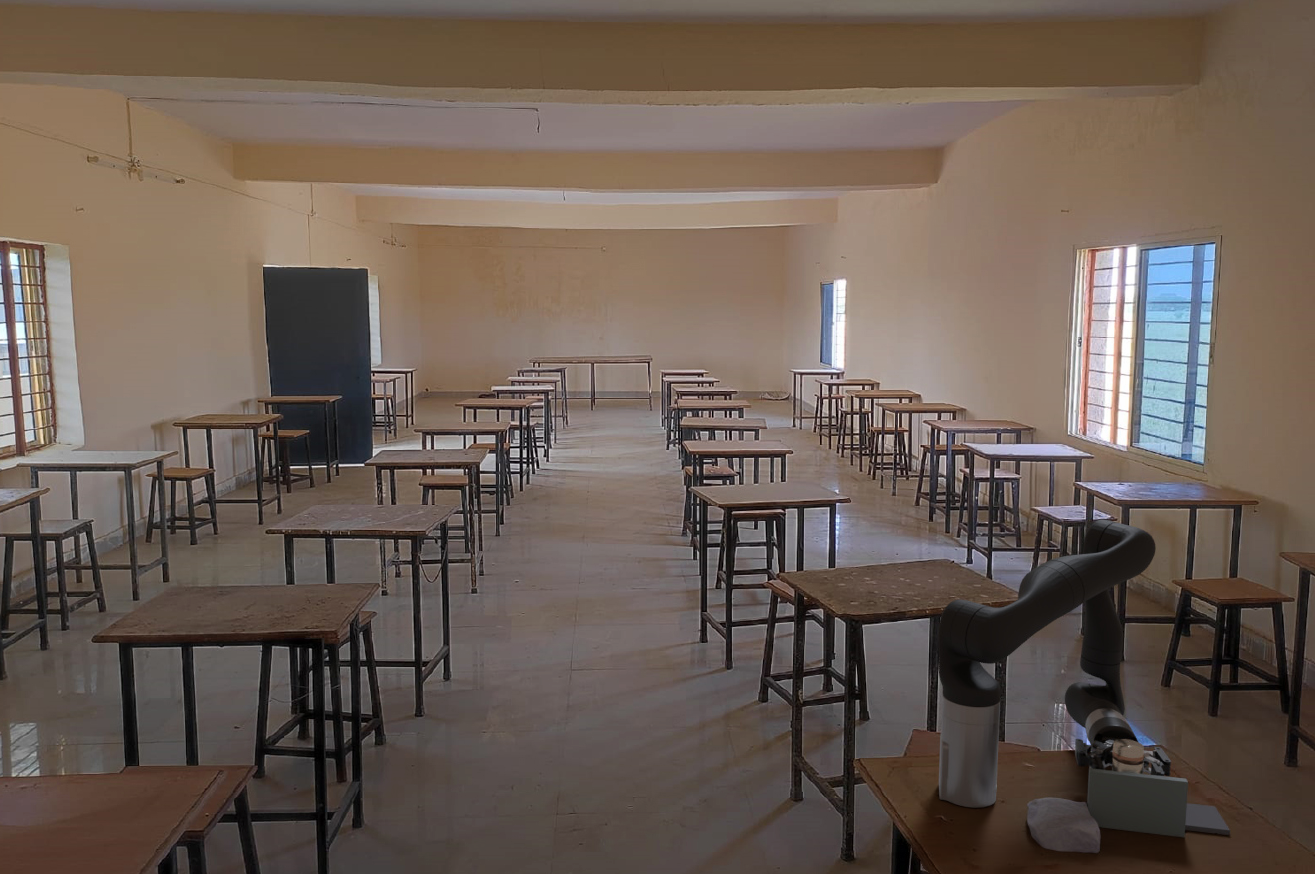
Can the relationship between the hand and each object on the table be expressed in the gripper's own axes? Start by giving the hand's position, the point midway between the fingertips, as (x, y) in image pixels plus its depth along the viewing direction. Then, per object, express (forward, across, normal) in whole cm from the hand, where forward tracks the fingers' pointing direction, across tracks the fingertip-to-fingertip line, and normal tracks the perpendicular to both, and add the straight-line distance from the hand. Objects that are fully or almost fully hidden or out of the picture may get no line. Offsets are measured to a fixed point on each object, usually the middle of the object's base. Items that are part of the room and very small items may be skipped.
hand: (1130, 775), depth 157 cm
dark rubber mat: (-1, +10, +6) cm, 12 cm away
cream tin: (-2, 0, +6) cm, 7 cm away
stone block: (+9, -12, +7) cm, 16 cm away
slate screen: (+5, 0, +6) cm, 8 cm away
